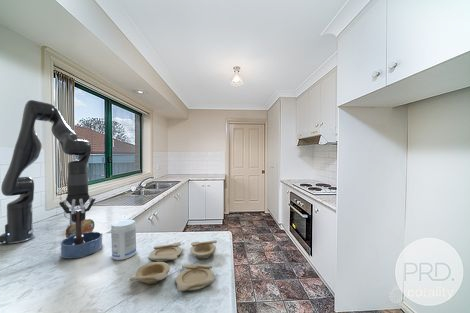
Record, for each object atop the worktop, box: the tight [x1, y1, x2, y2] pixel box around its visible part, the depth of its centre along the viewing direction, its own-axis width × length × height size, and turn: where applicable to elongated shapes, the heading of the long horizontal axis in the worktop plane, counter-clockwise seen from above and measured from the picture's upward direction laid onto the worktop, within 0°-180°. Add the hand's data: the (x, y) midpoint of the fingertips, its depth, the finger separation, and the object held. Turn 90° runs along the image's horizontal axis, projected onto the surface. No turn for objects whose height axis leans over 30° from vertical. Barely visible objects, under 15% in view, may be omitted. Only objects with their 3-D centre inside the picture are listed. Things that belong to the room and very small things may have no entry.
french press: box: [63, 203, 81, 228], centre depth 128 cm, size 10×12×25 cm
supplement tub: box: [110, 218, 137, 261], centre depth 90 cm, size 10×10×15 cm
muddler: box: [73, 210, 85, 245], centre depth 92 cm, size 4×4×17 cm
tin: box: [64, 218, 95, 239], centre depth 110 cm, size 15×3×8 cm, turn 168°
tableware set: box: [129, 239, 218, 293], centre depth 81 cm, size 35×29×4 cm
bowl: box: [60, 231, 103, 259], centre depth 94 cm, size 15×15×6 cm
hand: (78, 221), depth 92 cm, fingers closed on muddler, 2 cm apart
